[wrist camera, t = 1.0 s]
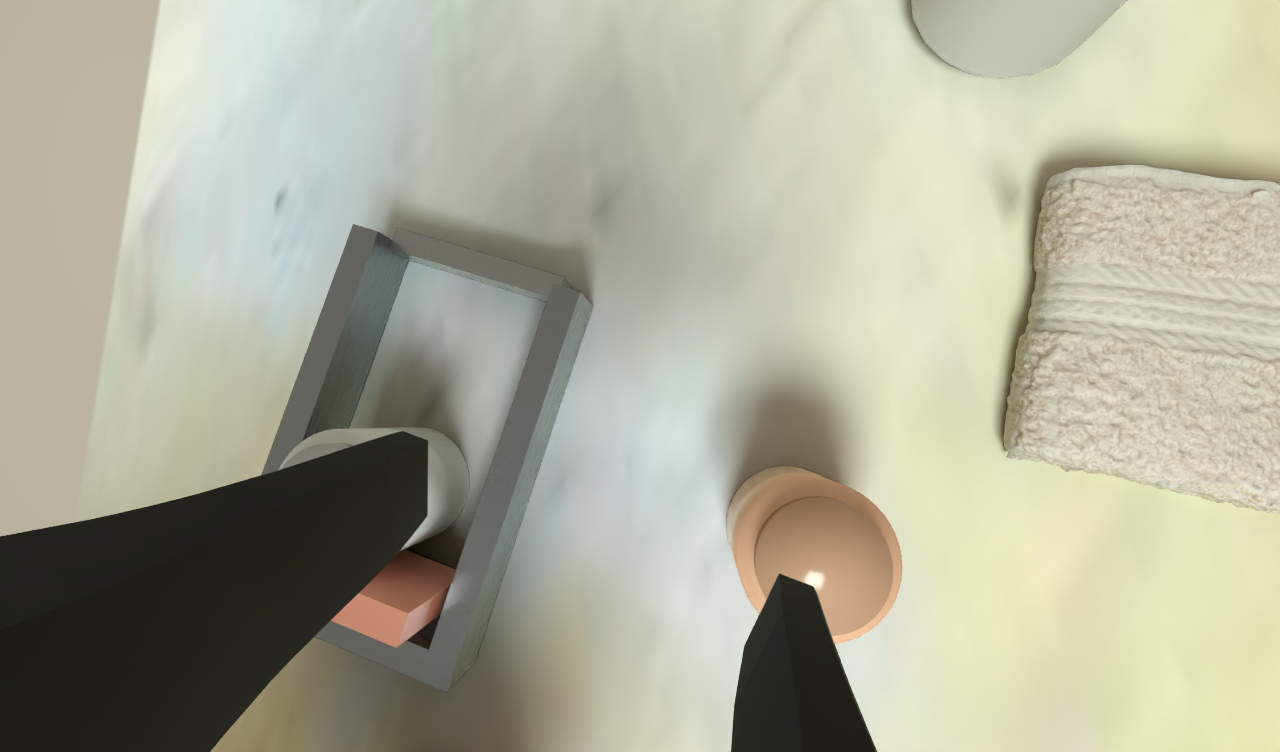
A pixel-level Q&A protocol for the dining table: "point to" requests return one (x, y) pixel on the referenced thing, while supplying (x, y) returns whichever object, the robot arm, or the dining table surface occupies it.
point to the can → (1008, 32)
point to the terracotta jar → (815, 546)
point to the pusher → (399, 599)
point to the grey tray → (337, 386)
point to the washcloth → (1154, 333)
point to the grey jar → (443, 470)
